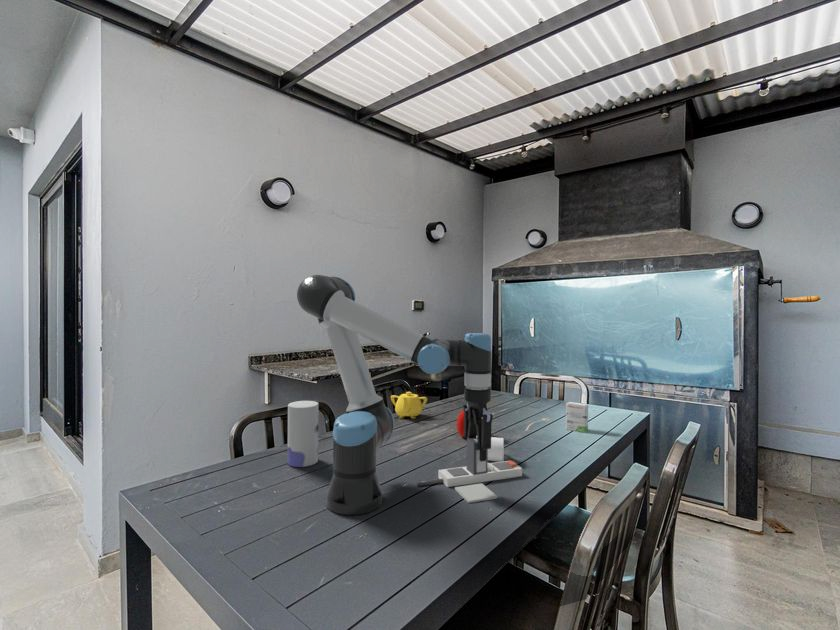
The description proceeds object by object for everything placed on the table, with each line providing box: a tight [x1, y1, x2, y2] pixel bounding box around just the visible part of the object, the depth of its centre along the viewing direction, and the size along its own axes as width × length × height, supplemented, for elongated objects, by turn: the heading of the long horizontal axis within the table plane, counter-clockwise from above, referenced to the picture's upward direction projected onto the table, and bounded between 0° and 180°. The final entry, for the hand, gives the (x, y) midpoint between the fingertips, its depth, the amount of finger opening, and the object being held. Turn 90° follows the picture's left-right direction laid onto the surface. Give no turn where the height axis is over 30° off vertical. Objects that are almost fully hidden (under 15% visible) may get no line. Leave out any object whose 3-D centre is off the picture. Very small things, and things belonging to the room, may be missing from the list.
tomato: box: [456, 409, 468, 438], centre depth 172 cm, size 14×13×10 cm
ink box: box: [565, 401, 589, 433], centre depth 184 cm, size 9×5×12 cm, turn 56°
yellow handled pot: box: [390, 391, 428, 420], centre depth 202 cm, size 14×14×12 cm
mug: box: [476, 436, 505, 462], centre depth 149 cm, size 12×10×8 cm
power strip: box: [416, 460, 523, 488], centre depth 131 cm, size 34×7×4 cm, turn 110°
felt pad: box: [454, 482, 498, 504], centre depth 120 cm, size 9×9×1 cm
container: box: [287, 400, 319, 468], centre depth 142 cm, size 10×10×20 cm
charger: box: [466, 438, 489, 475], centre depth 120 cm, size 4×4×9 cm
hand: (476, 467), depth 120 cm, fingers closed on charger, 4 cm apart
